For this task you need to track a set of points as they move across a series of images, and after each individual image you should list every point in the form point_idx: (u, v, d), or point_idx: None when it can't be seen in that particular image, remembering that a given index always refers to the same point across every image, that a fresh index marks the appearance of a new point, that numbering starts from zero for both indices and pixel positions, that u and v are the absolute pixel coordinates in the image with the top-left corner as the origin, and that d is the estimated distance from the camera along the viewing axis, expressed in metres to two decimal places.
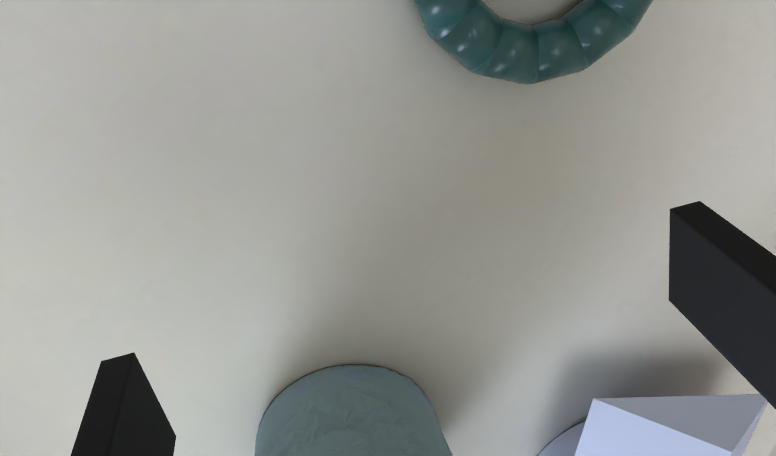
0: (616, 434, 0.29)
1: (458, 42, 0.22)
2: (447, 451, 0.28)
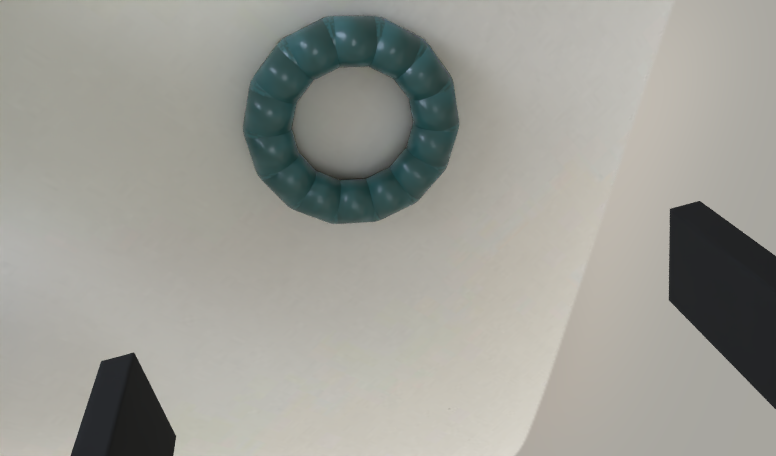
0: None
1: (280, 66, 0.26)
2: None
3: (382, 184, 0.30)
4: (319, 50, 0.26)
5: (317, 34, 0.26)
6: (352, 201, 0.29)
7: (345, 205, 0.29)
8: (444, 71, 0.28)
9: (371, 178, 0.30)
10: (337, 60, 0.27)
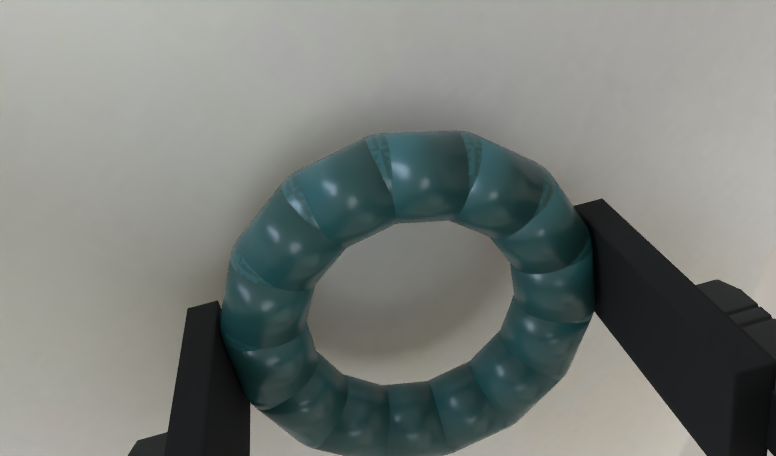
0: None
1: (286, 232, 0.14)
2: None
3: (460, 402, 0.17)
4: (361, 203, 0.14)
5: (358, 174, 0.14)
6: (409, 433, 0.17)
7: (397, 441, 0.17)
8: (580, 224, 0.16)
9: (440, 387, 0.18)
10: (393, 217, 0.14)
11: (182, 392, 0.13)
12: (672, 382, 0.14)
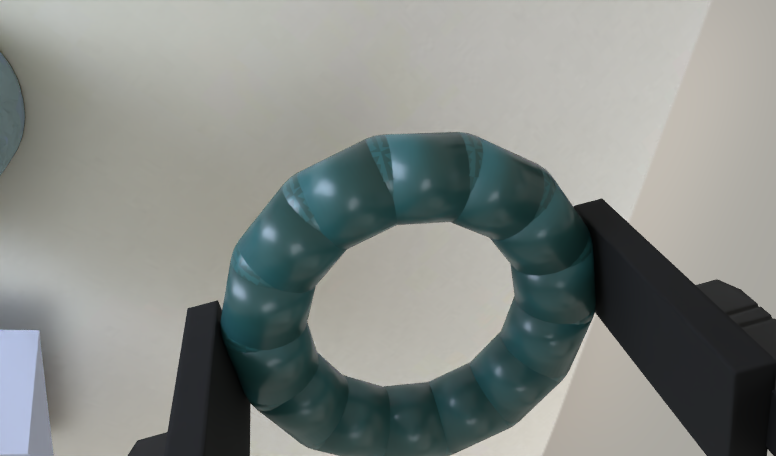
0: (4, 359, 0.31)
1: (287, 233, 0.14)
2: None
3: (461, 403, 0.17)
4: (362, 205, 0.14)
5: (359, 175, 0.14)
6: (410, 434, 0.17)
7: (398, 442, 0.17)
8: (581, 225, 0.16)
9: (440, 388, 0.18)
10: (394, 219, 0.14)
11: (182, 392, 0.13)
12: (673, 382, 0.14)
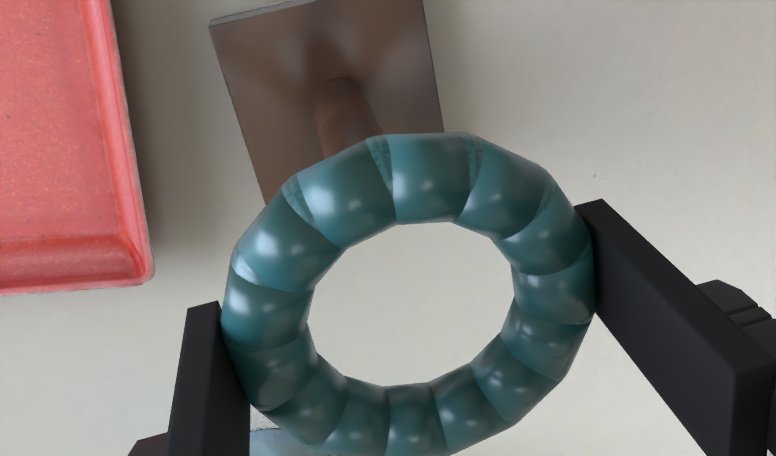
0: None
1: (287, 233, 0.14)
2: None
3: (461, 403, 0.17)
4: (362, 205, 0.14)
5: (358, 175, 0.14)
6: (410, 435, 0.17)
7: (398, 442, 0.17)
8: (581, 225, 0.16)
9: (440, 388, 0.18)
10: (394, 219, 0.14)
11: (182, 392, 0.13)
12: (672, 382, 0.14)
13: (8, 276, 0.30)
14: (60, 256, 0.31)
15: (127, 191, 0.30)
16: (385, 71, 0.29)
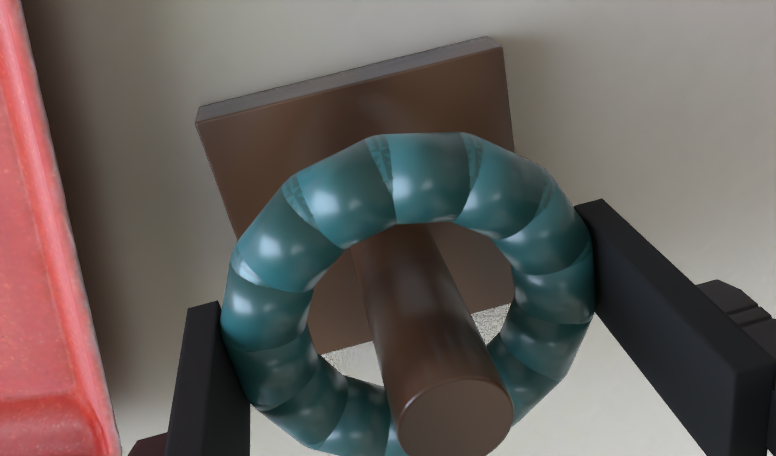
0: None
1: (287, 233, 0.14)
2: None
3: None
4: (361, 204, 0.14)
5: (358, 175, 0.14)
6: None
7: (398, 442, 0.17)
8: (581, 225, 0.16)
9: None
10: (394, 219, 0.14)
11: (182, 392, 0.13)
12: (672, 382, 0.14)
13: None
14: None
15: (82, 346, 0.21)
16: None
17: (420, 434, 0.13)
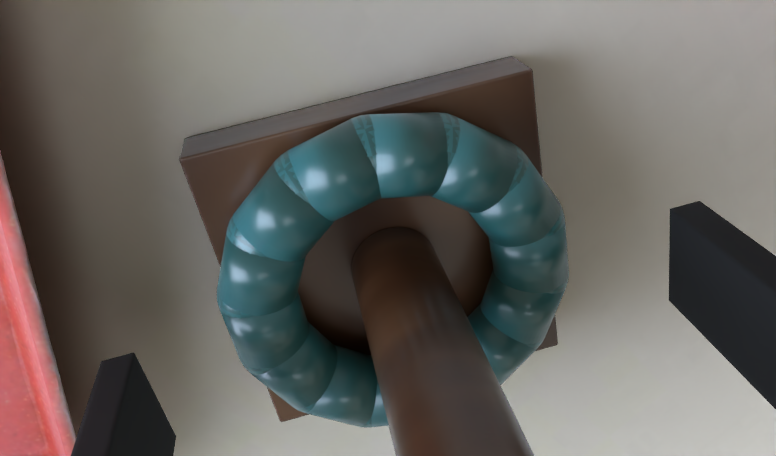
0: None
1: (278, 205, 0.15)
2: None
3: None
4: (348, 178, 0.15)
5: (344, 151, 0.15)
6: None
7: None
8: (553, 200, 0.17)
9: None
10: (378, 192, 0.15)
11: None
12: None
13: None
14: None
15: (52, 409, 0.18)
16: (469, 214, 0.18)
17: None
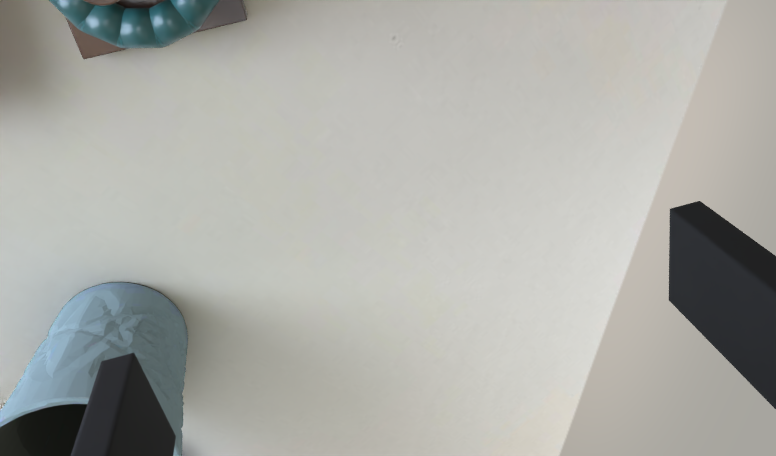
0: None
1: None
2: None
3: (160, 9, 0.34)
4: None
5: None
6: (133, 23, 0.34)
7: (127, 26, 0.33)
8: None
9: (153, 6, 0.34)
10: None
11: None
12: None
13: None
14: None
15: None
16: None
17: None
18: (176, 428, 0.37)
